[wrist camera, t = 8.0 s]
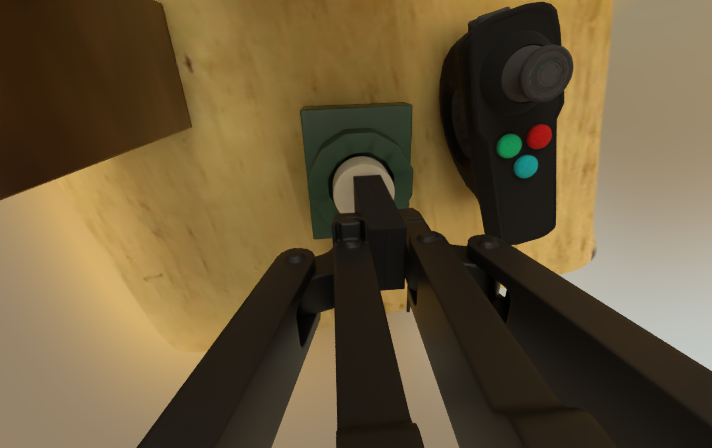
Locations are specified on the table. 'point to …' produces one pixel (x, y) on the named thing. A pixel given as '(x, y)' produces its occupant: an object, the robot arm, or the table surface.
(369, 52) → the table surface
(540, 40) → the controller
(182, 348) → the table surface
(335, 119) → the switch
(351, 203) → the button
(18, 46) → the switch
